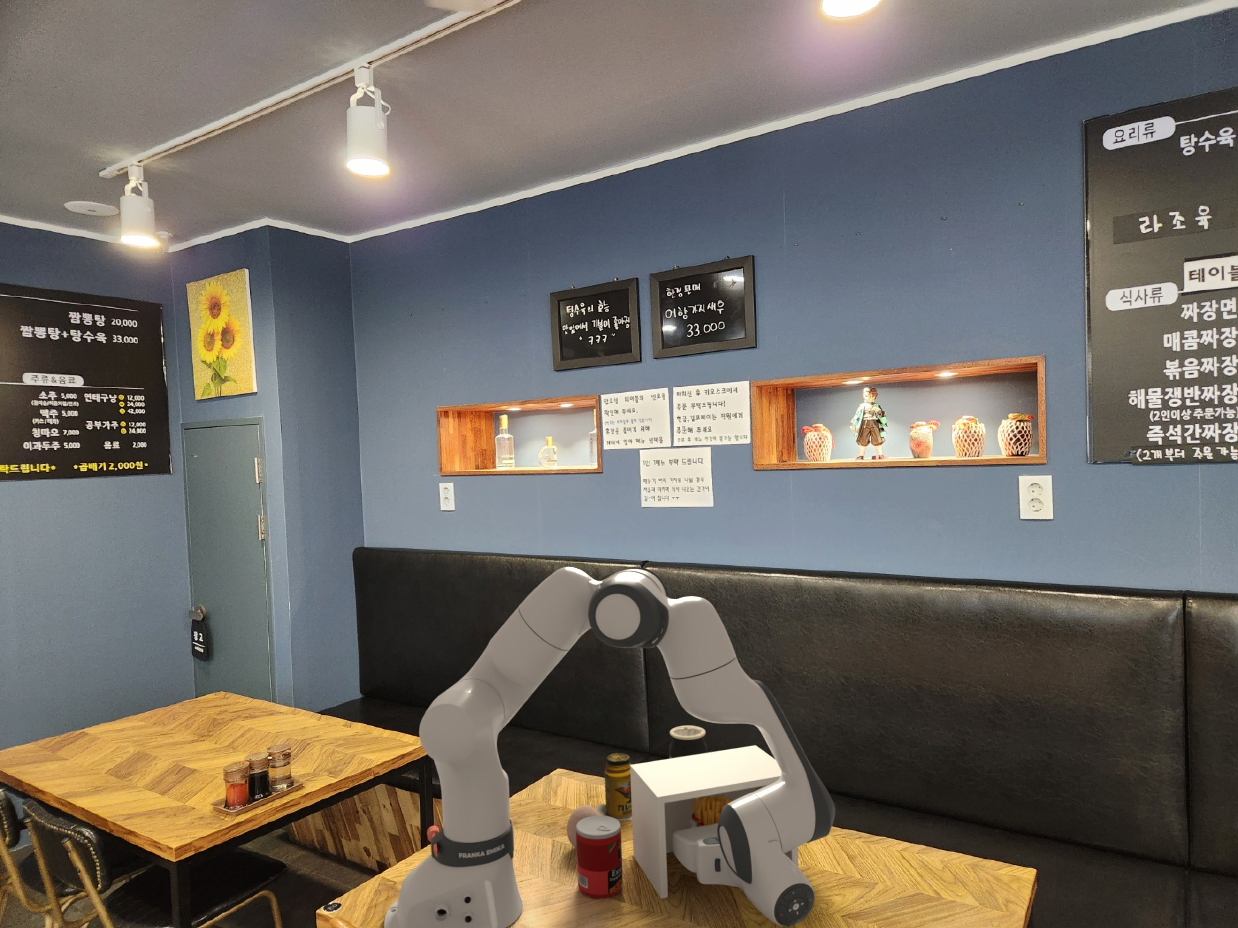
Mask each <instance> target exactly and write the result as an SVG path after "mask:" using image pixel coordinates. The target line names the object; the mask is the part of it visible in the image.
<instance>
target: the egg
mask: <svg viewBox="0 0 1238 928" xmlns="http://www.w3.org/2000/svg"><path fill="white" fill-rule="evenodd" d="M591 816H600V815H599V813H598V812H597V809H596V808H595V807H593V806H591V805H589V804H583V805H582V804H581V805H580V806H578V807H576V808H575V809H574V810H573V811H572V813H571V814H570V816H569V818H568V820H567V824H566V836H567V839H568V841H569V843H570V845H571V846H572V847H574V848H575V849H576V850H577V848H576V825H577V823H578V822H579V821H580V820H582V819H584V818H587V817H591Z"/></svg>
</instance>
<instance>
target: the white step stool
mask: <svg viewBox="0 0 1238 928" xmlns="http://www.w3.org/2000/svg"><path fill="white" fill-rule="evenodd" d="M630 774H631V801H632V820H631V825H632V850H633V851H632V852H633V855H632V856H633V858H634V859H635V861H636V863H638V865H639V867H640V868H641V870H642V871H643V873H644V874H645V876H646V878H647V880H649V881H650V884H651V886H652V887H653V888H654V890H655V891H656V893H657V894H658V896H659V897H660V899H665V898H668V897H669V895H668V894H669V893H668V892H669V891H668V890H669V889H668V869H667V868H668V864H667V854H668V853H674V852H673V843H672V839H673V834H674V832H675V831H677V830H683V829H688V828H690V820H692V815H693V812H694V808H693V798H696V803H697V804H698V805H699V797H702V796H706V799H707V796H711V797H715V796H716V795H719V796H721V795H722V796H724V799H725V800H726V797H727V798H730V799H732V800H733V801H734V800H736V799H738V798H741V797H743V796H745V795H747V794H749V793H753V792H755V791H757V790H759V789H761V788H763V787H766V786H768V785H770V784H772V783H774V782H776V781H778V780H779V778H780V776H781V769H780V767H779V765H778V763H777V761H776V760H775V758H774V757H773V756H771V755H769V754H768V753H767V752H766V751H764V750H763V749H762V748H760V747H758V746H757V745H756V744H755V745H750V746H749V745H748V746H743V747H738V748H737V747H736V748H730V749H725V750H717V751H710V752H708V753H704V754H697V755H691V756H685V757H678V758H672V759H670V758H667V759H660V760H653V761H649V762H642V763H635V764H631V765H630ZM785 855H786V856H787V857H788V858H789V859H790V860H791V861H792V862H793V863H794V864H795V865H796V866H797V867H798V868H799V847H797V848H795V849H793V850H791V851H789V852H787V853H785Z"/></svg>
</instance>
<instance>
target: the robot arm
mask: <svg viewBox="0 0 1238 928" xmlns="http://www.w3.org/2000/svg"><path fill="white" fill-rule="evenodd" d="M590 629H591V631H592V632H593V634H594V635H595V636H596V638H597V639H598V640H600V641H601V642H603V643H604V644H606V645H608V646H611V647H614V648H620V649H631V648H633V649H635V648H637V649H638V648H639V649H653V648H655V647H657V648H658V650H659V651H660V653H661V655H662V657H663V661H664V663H665V666H666V668H667V671H668V672H667V673H668V676H669V678H670V682H671V685H672V687H673V690H674V693H675V696H676V697H677V700H678V702H679V703H680V706H681V707H682V708H683V709H684V711H685V712H687V713H688V714H689V715H691V716H692V717H693V718H696V719H699V720H700V721H705V722H707V723H708V722H709V723H714V724H746V725H747V724H749V725H753V726H755V727H756V728H757V729H758V730H759V731H760V733H761V736H763V739H764V740H765V743H766V744H767V746H768V748H769V750H770V752H771V754H772V755H773V756H772V757H773V758H774V759H775V760H776V761H777V763H778V765H779V767H780V769H781V776H780V778H779V780H778V781H776V782H774V783H772V784H770V785H768V786H766V787H763V788H761V789H759V790H757V791H755V792H753V793H749V794H747V795H745V796H743V797H741V798H738V799H736V800H734V801H732V802H730V803H729V804H726V805H725V806H724V808H723V810H722V812H721V815H720V818H719V823H716V824H710V825H705V826H701V822H700V821H699V820H697V819H694V820H690V828H688V829H683V830H677V831H675V832H674V834H673V839H672V843H673V852H672V853H673V854H674V856H675V857H676V859H677V860H678V861H679V862H680V864H682V866H684V867H685V869H687V870H688V871H690V872H692V873H695V874H696V879H697V881H698V882H699V883H700V884H703V885H724V886H730V887H733V888H734V887H735V888H739V889H740V890H741V891H743V892H744V894H745V896H746V898H747V899H748V900H749V901H750V902H751V904H753V906H754V907H755V909H757V910H758V911H759V912H760V913H761V914H762V915H763V916H764V917H766V918H767V919H768V920H769V921H771V922H772V923H774V924H775V925H777V926H780V927H784V928H785V927H786V928H787V927H788V928H789V927H793V926H795V925H797V924H798V923H800V922H802V921H803V920H805V919H806V918H807V917H808V916H809V914H810V913H811V912H812V910H813V907H814V905H815V900H816V894H815V889H814V888H813V886H812V884H811V882H810V881H809V879H808V878H807V877H806V875H805V874H804V873H803V872H802V871H801V869H800V868H799V866H798V867H797V866H796V865H795V864H794V863H793V862H792V861H791V860H790V859H789V858H788V857H787V856H786V855H785V853H787V852H789V851H791V850H793V849H795V848H797V847H798V848H799V847H800V846H802V845H804V844H809V843H812V842H814V841H818V840H820V839H822V838H823V839H824V838H826V837H828V836H829V834H830V832H831V830H832V827H833V824H834V821H835V816H836V807H835V804H834V803H835V802H834V801H833V798H832V797H831V794H830V793H829V791H828V789H827V788H826V786H825V784H824V783H823V781H822V780H821V778H820V777H819V775H818V774H817V772H816V771H815V769H814V767H813V766H812V764H811V762H810V761H809V759H808V757H807V755H806V753H805V750H804V749H803V747H802V745H801V743H800V742H799V740H798V738H797V735H796V734H795V732H794V730H793V729H792V726H791V724H790V723H789V721H788V720H789V719H787V716H786V715H785V713H784V710H782V708H781V707H780V705H779V703H778V701H777V699H776V697H775V696H774V695H773V693H772V692H771V691H770V689H769V688H768V687H767V686H766V685H765V684H764V683H763V682H762V681H760V680H758V679H757V680H756V679H752V678H751V677H750V676H749V675H748V674H747V673H746V672H745V671H744V669H743V668H742V666H741V664H740V663H739V661H738V658H737V655H736V651H735V649H734V646H733V644H732V641H731V639H730V637H729V635H728V631H727V629H726V626H725V625H724V623H723V622H722V619H721V618H720V616H719V614H718V612H717V610H716V609H715V607H714V605H713V604H712V603H711V602H710V601H709V600H708V599H706V598H704V597H700V596H693V595H692V596H691V595H690V596H683V597H679V598H677V599H676V598H675V599H674V598H670V597H669V594H668V590H667V587H666V584H665V583H664V580H663V579H662V577H660V576H659V575H658V574H657V573H655V572H654V571H653V570H650V569H648V568H646V567H640V566H639V567H638V566H636V567H635V566H634V567H629V568H625V569H622V570H619V571H616V572H613V573H610V574H607V575H604V576H602V577H601V578H600V580H596V579H594V578H593V577H591V576H590V575H589V574H587V573H586V572H585V571H583V570H582V569H579V568H577V567H573V566H572V567H571V566H564V567H561V568H559V569H557V570H555V571H554V572H552V574H550V575H549V576H548V577H547V578H545V579H544V580H543V581H541V582H540V583H539V585H538V586H537V587H535V588H534V589H533V590H532V591H531V592H530V593H529V594H528V595H527V596H526V597H525V599H524V600H523V601H522V602H521V603H520V604H519V606H517V608H516V609H515V610H514V612H513V613H512V614H511V615H510V616H509V617H508V619H507V620H506V621H505V622H504V624H503V625H501V627H500V628H499V629H498V630H497V631H496V633H495V634H494V635H493V637H491V639H490V640H489V642H488V644H487V645H486V648H485V649H484V650H483V651H482V654H481V655H480V657H478V659H477V660H476V661H475V663H474V664H473V666H472V667H471V668H470V669H469V671H468V672H467V673H465V675H464V676H462V677H461V678H460V679H459V680H458V681H457V682H455V683H454V684H453V685H452V686H450V687H448V689H446V690H445V691H444V692H442V693H441V694H439V695H438V696H437V697H436V698H435V699H434V700H433V701H432V702H431V704H430V705H429V707H428V708H427V709H426V711H425V713H424V715H423V716H422V719H421V721H420V724H419V730H418V731H419V732H418V735H419V740H420V741H419V742H420V744H421V746H422V748H423V750H424V751H425V753H426V754H427V755H428V756H429V757H430V758H431V759H432V760H434V764H435V767H436V771H437V774H438V777H439V783H440V790H441V805H442V809H441V810H442V828H441V829H440V828H439V827H438V826H437V825H432V826H430V827H428V829H427V832H426V835H427V840H428V841H429V842H430V854H429V855H428V856H427V857H426V858H425V859H424V860H423V861H421V862H420V863H419V864H418V865H417V866H416V867H415V868H413V869H412V870H411V871H410V872H409V873H407V875H406V876H405V878H404V879H403V880H402V884H401V887H400V889H399V892H398V893H399V894H398V898H397V900H395V901H394V902H393V903H392V904H391V905H390V907H389V908H388V909H387V912H386V913H385V916H384V922H383V928H508V927H510V925H512V924H514V922H516V920H518V918H519V917H520V915H521V914H522V912H523V907H524V903H523V900H522V898H521V894H520V892H519V891H520V890H519V887H518V883H517V879H516V874H515V873H516V872H515V868H514V860H513V858H514V851H515V835H514V834H515V831H514V827H513V822H512V820H511V815H510V811H511V810H510V785H509V783H510V782H509V776H508V774H507V772H506V771H505V770H504V769H503V767H502V764H501V761H500V757H499V752H498V746H497V743H498V742H497V741H498V736H499V733H500V732H501V731H502V730H503V728H505V727H506V725H507V724H509V722H510V721H511V720H512V719H513V718H514V717H515V715H516V714H517V713H518V712H519V711H520V709H521V708H522V707H523V705H524V704H525V703H526V702H527V701H528V700H529V698H530V697H532V695H533V693H534V692H535V691H536V690H537V688H538V687H539V686H540V685H541V684H542V683H543V681H544V680H545V679H546V678H547V676H548V675H550V673H551V672H552V671H553V670H554V668H555V667H556V666H557V665H558V664H559V663H560V662H561V660H563V658H564V657H565V656H566V655H567V653H568V652H569V651H570V650H571V649H572V647H573V646H574V645H575V644H576V643H577V641H578V640H579V639H580V638H581V637H582V636H583V635H584V634H585V633H586V632H587V631H588V630H590Z"/></svg>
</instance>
